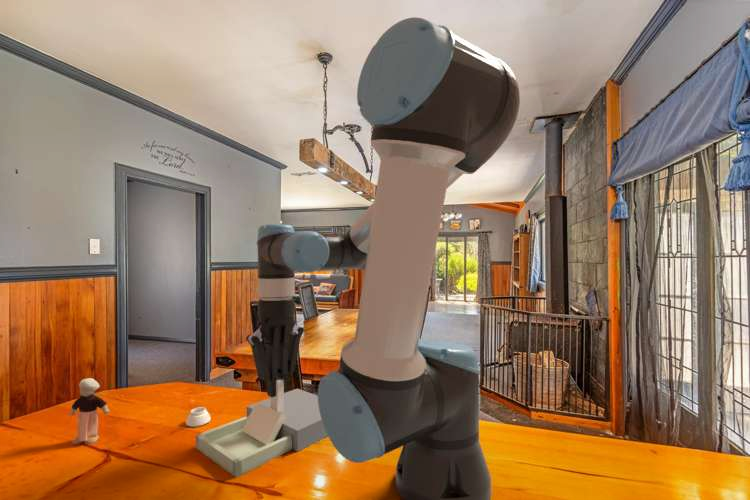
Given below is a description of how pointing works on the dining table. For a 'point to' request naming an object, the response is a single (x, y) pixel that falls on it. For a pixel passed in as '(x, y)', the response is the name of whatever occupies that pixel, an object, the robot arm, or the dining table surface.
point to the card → (264, 423)
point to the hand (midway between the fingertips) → (277, 410)
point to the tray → (239, 447)
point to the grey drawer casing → (299, 418)
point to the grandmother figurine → (88, 412)
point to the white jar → (198, 417)
